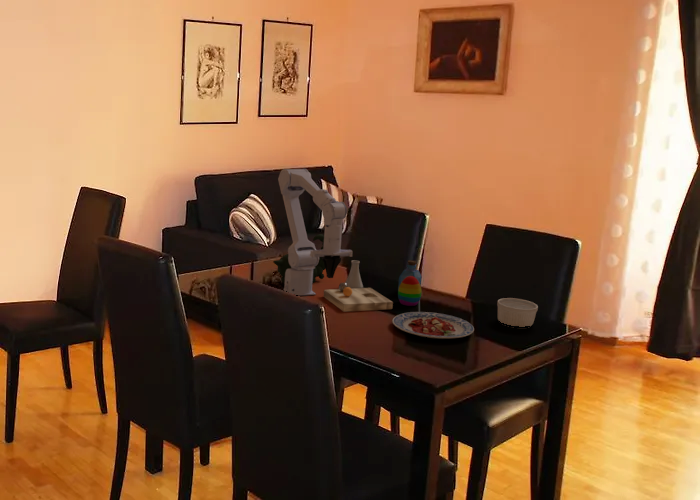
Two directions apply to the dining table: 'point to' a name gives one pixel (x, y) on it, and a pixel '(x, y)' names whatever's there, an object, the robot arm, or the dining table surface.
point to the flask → (354, 276)
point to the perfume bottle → (410, 272)
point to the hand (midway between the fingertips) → (329, 277)
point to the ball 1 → (342, 286)
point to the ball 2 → (347, 291)
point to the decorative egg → (409, 291)
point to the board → (358, 300)
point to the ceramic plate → (433, 325)
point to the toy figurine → (284, 265)
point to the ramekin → (516, 312)
